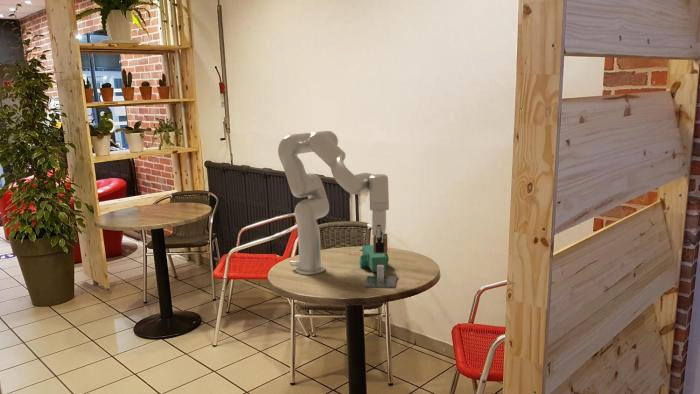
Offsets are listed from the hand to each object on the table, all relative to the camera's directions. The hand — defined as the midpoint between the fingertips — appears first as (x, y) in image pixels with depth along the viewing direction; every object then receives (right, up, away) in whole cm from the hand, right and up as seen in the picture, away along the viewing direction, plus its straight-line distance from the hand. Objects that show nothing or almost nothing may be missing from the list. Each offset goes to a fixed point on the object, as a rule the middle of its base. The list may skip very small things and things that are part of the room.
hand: (380, 249), depth 210 cm
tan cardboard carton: (0, -1, 0) cm, 1 cm away
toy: (-2, -10, +26) cm, 28 cm away
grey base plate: (0, -13, +2) cm, 14 cm away
